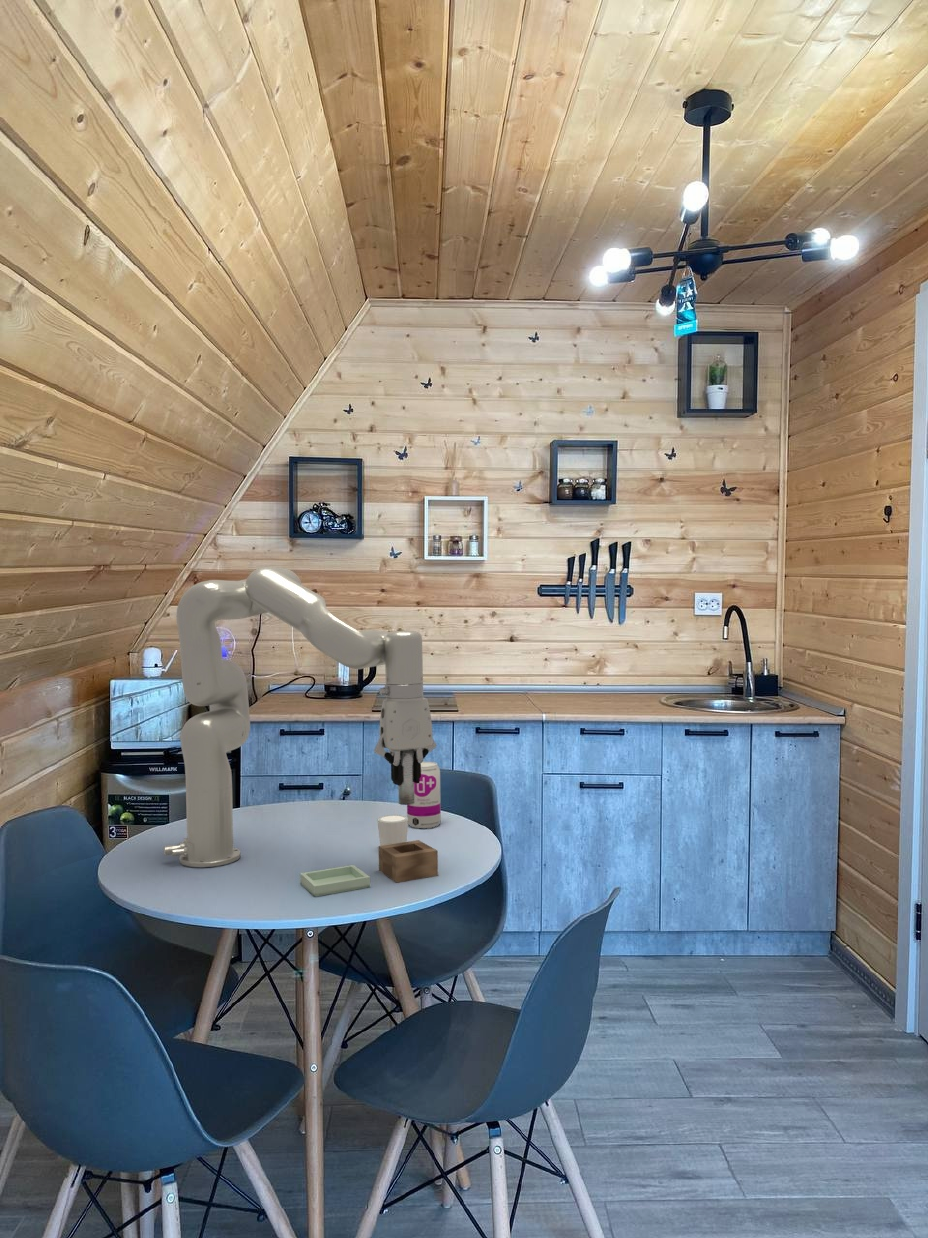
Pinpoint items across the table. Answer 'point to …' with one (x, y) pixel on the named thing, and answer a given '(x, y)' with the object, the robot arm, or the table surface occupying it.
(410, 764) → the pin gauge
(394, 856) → the bore block
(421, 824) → the supplement can
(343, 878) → the tray
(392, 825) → the white cylinder
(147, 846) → the table surface
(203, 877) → the table surface
